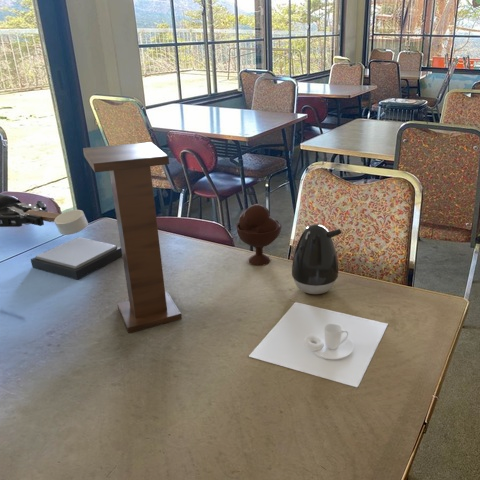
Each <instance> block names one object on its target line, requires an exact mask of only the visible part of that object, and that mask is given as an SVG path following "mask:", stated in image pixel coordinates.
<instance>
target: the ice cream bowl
mask: <svg viewBox="0 0 480 480" xmlns="http://www.w3.org/2000/svg"><path fill="white" fill-rule="evenodd" d="M238 217H239V218H238V222H236V223H235V225H234V226H235V229H236V231H237V235H238V237H239V239H240V241H242V242H243V243H244V244H245V245H248V246H250V247H253V248H255V253H254V254H252V255H251V256H249V257H248V259H247V262H248V264H250V265H252V266H256V267H257V266H260V267H262V266H265V265H268V264H269V263H270V262H271V258H270V256H269V255H266V254H265V253H264V252H263V251H264V250H263V249H264V247H267V246H269V245H271V244H272V243H273V242H274V241H275V240H276V239H277V238H278V237H279V236H280V234H281V232H282V228H283V227H282V226H283V225H282V224H281V222H280V220H277V219H275V218H273V217H272V216H270V210H269V209H268V208H267V207H265V206H264V205H263V204H259V203H256V204H252V205H250V206H248V207H247V208H246V209H245V210H243V211H242V212H241V213H240V215H239V216H238Z"/></svg>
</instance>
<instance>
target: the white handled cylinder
mask: <svg viewBox="0 0 480 480" xmlns="http://www.w3.org/2000/svg"><path fill="white" fill-rule="evenodd" d="M25 213H28V214H29V215H30V214H33V215H37V216H41V217H42V218H43V220H44V221H43V222H48V221H51V222H50V223H54V225H55V226H56V228H57V230H58V232H59V234H60V235H62V236H70V235H74V234H77V233H79V232H81V231H84V230H85V229H86V228H87V227H88V225H89V221H88V219H87V217H86V214H85V213H84V211H83V210H81V209H71V210H67V211H64V212H62V213H59V212H51V211H50V212H49V211H48V212H43V211H35V210H28V211H27V212H25Z"/></svg>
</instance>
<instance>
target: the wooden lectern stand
mask: <svg viewBox="0 0 480 480" xmlns="http://www.w3.org/2000/svg"><path fill="white" fill-rule="evenodd" d="M82 151H83V158H85V159H86V162H88V164H89V166H90V167H91V169H92V170H93V172H94V173H104V172H109V177H110V184H111V191H112V198H113V205H114V210H115V211H114V212H115V217H116V224H117V231H118V237H119V243H120V247H121V250H122V256H121V257H122V263H123V269H124V276H125V283H126V288H127V296H128V300H125V301H121V302H117V303H116V306H117V309H118V313H119V315H120V317H121V319H122V321H123V325H124V326H125V329H126V331H127V334H131V333H135V332H139V331H142V330H146V329H149V328H152V327H156V326H160V325H164V324H169V323H172V322H175V321H178V320H182V319H183V318H182V317H183V316H182V313H181V311H180V309H179V308H178V307H177V305H176V303H175V302H174V300H173V299H172V297H171V295H170V294H169V292H168V291H167V290H166V289H165V287H166V286H165V279H164V272H163V262H162V253H161V244H160V238H159V228H158V221H157V211H156V203H155V194H154V185H153V177H152V169H151V167H156V166H166V165H170V158H169V155H168V154H167V153H166V152H164V151H163V150H161V149H160V148H159V147H158V146H157V145H155V144H154V143H153V142H151V141H147V142H137V143H125V144H115V145H103V146H92V147H83V148H82Z"/></svg>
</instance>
